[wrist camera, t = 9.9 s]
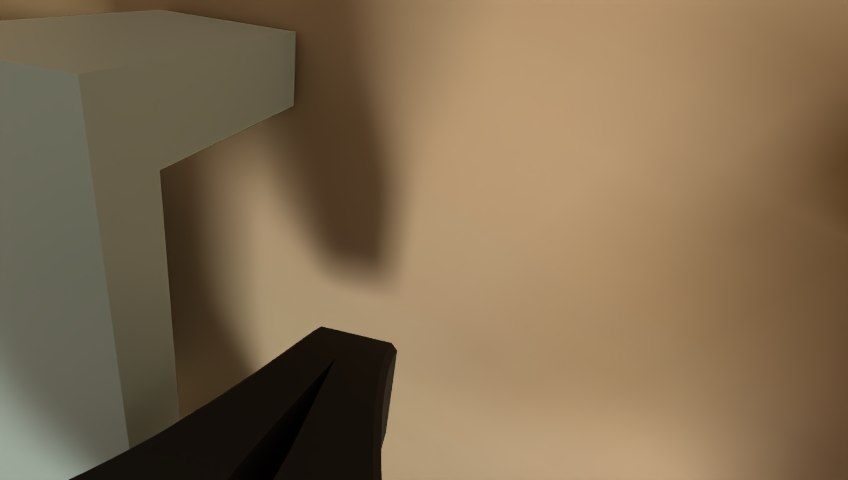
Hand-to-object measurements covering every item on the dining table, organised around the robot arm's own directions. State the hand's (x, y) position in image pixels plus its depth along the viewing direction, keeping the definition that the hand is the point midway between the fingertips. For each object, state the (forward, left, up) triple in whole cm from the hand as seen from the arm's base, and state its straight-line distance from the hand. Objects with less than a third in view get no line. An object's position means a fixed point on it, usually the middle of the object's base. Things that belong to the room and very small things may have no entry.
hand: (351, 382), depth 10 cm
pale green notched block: (0, +3, -2) cm, 4 cm away
